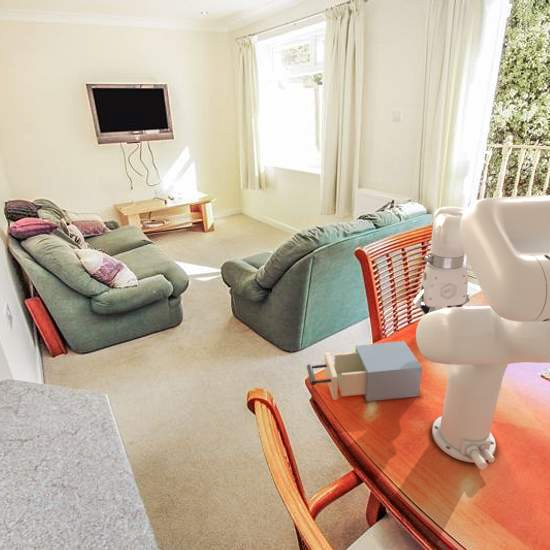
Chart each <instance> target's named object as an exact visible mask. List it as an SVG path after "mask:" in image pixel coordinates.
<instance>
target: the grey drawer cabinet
mask: <svg viewBox="0 0 550 550" xmlns="http://www.w3.org/2000/svg"><path fill="white" fill-rule="evenodd" d="M354 352H358V354H359V356H360V359H361V361H362V363H363V365H364V367H365V369H366V372H367V388H366V394H363V395H364V398H365V400H366V402H372V401H382V400H383V401H385V400H393V399H403V398H405V399H406V398H412V397H413V398H414V397H420V391H421V382H422V375H423V374H422V373H423V366H422V364H421V363H420V362H419V360H418V359H417V357H416V356H415V354H414V353H413V352H412V350H411V348H410V347H409V346H408V345H407V343H406V342H405V341H404V340H402V341H401V340H399V341H389V342H380V343H371V344H370V343H368V344H359V345H355V351H354Z"/></svg>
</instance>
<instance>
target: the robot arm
mask: <svg viewBox="0 0 550 550" xmlns="http://www.w3.org/2000/svg"><path fill="white" fill-rule="evenodd" d="M430 241H431V242H430V250H429V252H428V255H426V256H424V257H423V262H424V263H426V265H425V267H424V270H423V273H422V277H421V282H420V285H419V293H418V294H417V295H416V297H415V298H414V300H413V301H412V304H413V305H414V306H415V307H417V308H418V309H421V310H422V312H423V311H424V312H425V315H424V316H423V317H422V316H421V317H420V319H419V321H418V323H417V326H416V329H415V341H416V345H417V348H418V350H419V352H420V353H421V355H422V356H423V358H425V359H426V360H427V361H429V362H431V363H434V364H441V365H442V364H443V365H450V367H449V369H448V373H447V381H446V385H445V392H444V399H443V406H442V412H441V416H439V417H437V418H436V419H435V420H434V421H433V424H432V426H431V434H432V435H431V436H432V438H433V440H434V442H435V444H436V445H437V446H438V447H439V449H441V450H442V451H443V452H444V453H445V454H447V455H448V456H451V457H452V458H454V459H456V460H459V461H463V462H465V463H474V464H475V466H476V467H477V468H478V470H480V471H483V470H486V469H487V468H488V466H489V464H488V463H494V462H495V460H496V458H495V457H494V454H495V452H496V447H497V444H496V439H495V437H494V435H493V433H492V432H491V430H492V425H493V422H494V417H495V413H496V409H497V404H498V400H499V396H500V392H501V387H502V384H503V381H504V380H503V379H504V376H505V373H506V370H507V368H508V366H509V365H512V364H519V363H533V364H534V363H535V364H545V363H548V364H549V363H550V195H543V194H542V195H541V194H539V195H538V194H536V195H520V196H519V195H518V196H501V197H500V196H498V197H495V196H493V197H485V198H481V199H478V200H476V201H475V202H473V203H471V204H470V205H469V206H468V207H467V208H464V207H460V206H443V207H440V208H437V209H436V211H434V215H433V219H432V233H431V239H430ZM465 257H466V259H467V262H468V263H469V266H470V268H471V270H472V272H473V274H474V276H475V278H476V281H477V283H478V285H479V288H480V290H481V292H482V295H483V296H484V298H485V300H486V303H487V306H486V305H485V306H483V305H482V306H464V305H466V304H467V303H469V302H470V301H471V299H470V297H469V296H468V285H469V283H468V282H469V281H468V278H469V277H468V276H469V275H468V267H467V265H466V264H465V263H464V262H465ZM441 306H447V308H444V309H440V310H437V311H434V309H435V307H441ZM487 461H488V462H487Z"/></svg>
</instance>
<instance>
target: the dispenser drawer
mask: <svg viewBox="0 0 550 550" xmlns="http://www.w3.org/2000/svg"><path fill="white" fill-rule="evenodd" d="M333 360H334V361H333ZM333 360H332V357H331V354H330V351H329V352H324V364H314V365H312V364H310V363H308V364H307V365H306V370H307V374H308V378H309V382H310V383H309V384H310V385H311V386H316V384H324V383H325V384H326V383H327V386H328V388H329V392H330V395H331V399H332V401H337V400H338V389H339V392H340V395H341V397H350V396H359V395H364V394H366V388H367V372H366V369H365V367H364V365H363V363H362V361H361V359H360V356H359V354H358V352H355V351H350V352H349V351H348V352H340V353H338V352H337V353H334V359H333ZM333 362H334V363H333ZM322 368H324V375H325V379H324V378H322V379H316V377H315V372H314V369H322Z"/></svg>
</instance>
